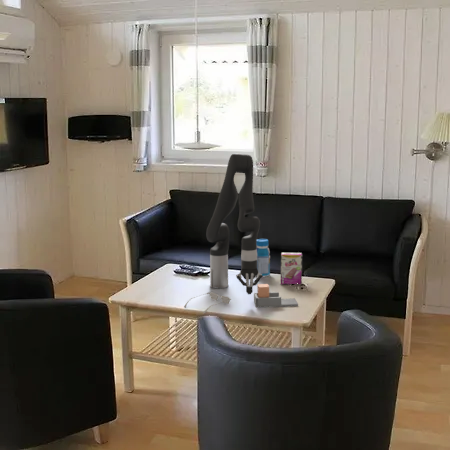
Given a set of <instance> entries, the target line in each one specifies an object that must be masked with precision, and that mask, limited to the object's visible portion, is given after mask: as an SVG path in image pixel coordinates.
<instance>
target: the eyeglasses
mask: <svg viewBox="0 0 450 450" xmlns="http://www.w3.org/2000/svg"><path fill="white" fill-rule="evenodd" d="M204 295H205V293H204V294H201V295H196V296H194V297H191V298H190V299H189V300H187V302H186V303H185V305H184V306H183V308H186V307H187V305H188V303H189V302H190V301H191V300H192V299H195V298H197V297H201V296H204ZM206 295H209V297H210V300H213V301H216V302H217V301H218V300H219V298H220V300H221V302H218V303H215V304H212V305H210V306H209V307H207V309H205V310H204V311H203V312H202V314H206V313H207V311H208V310H209V309H210V308H211V307H213V306H214V305H217V304H220V303H224V304H227V305H229V304H230V303H231V300H232V298H231V297H229V296H226V295H219V294H218V293H216V292H212V291H211V292H207V293H206Z"/></svg>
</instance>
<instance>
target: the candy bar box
mask: <svg viewBox="0 0 450 450" xmlns="http://www.w3.org/2000/svg"><path fill="white" fill-rule="evenodd" d="M302 275H303V253H302V252H281V253H280V285H290V284H297V283H298V284H301V285H302V283H303V281H302V278H303V277H302Z"/></svg>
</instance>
